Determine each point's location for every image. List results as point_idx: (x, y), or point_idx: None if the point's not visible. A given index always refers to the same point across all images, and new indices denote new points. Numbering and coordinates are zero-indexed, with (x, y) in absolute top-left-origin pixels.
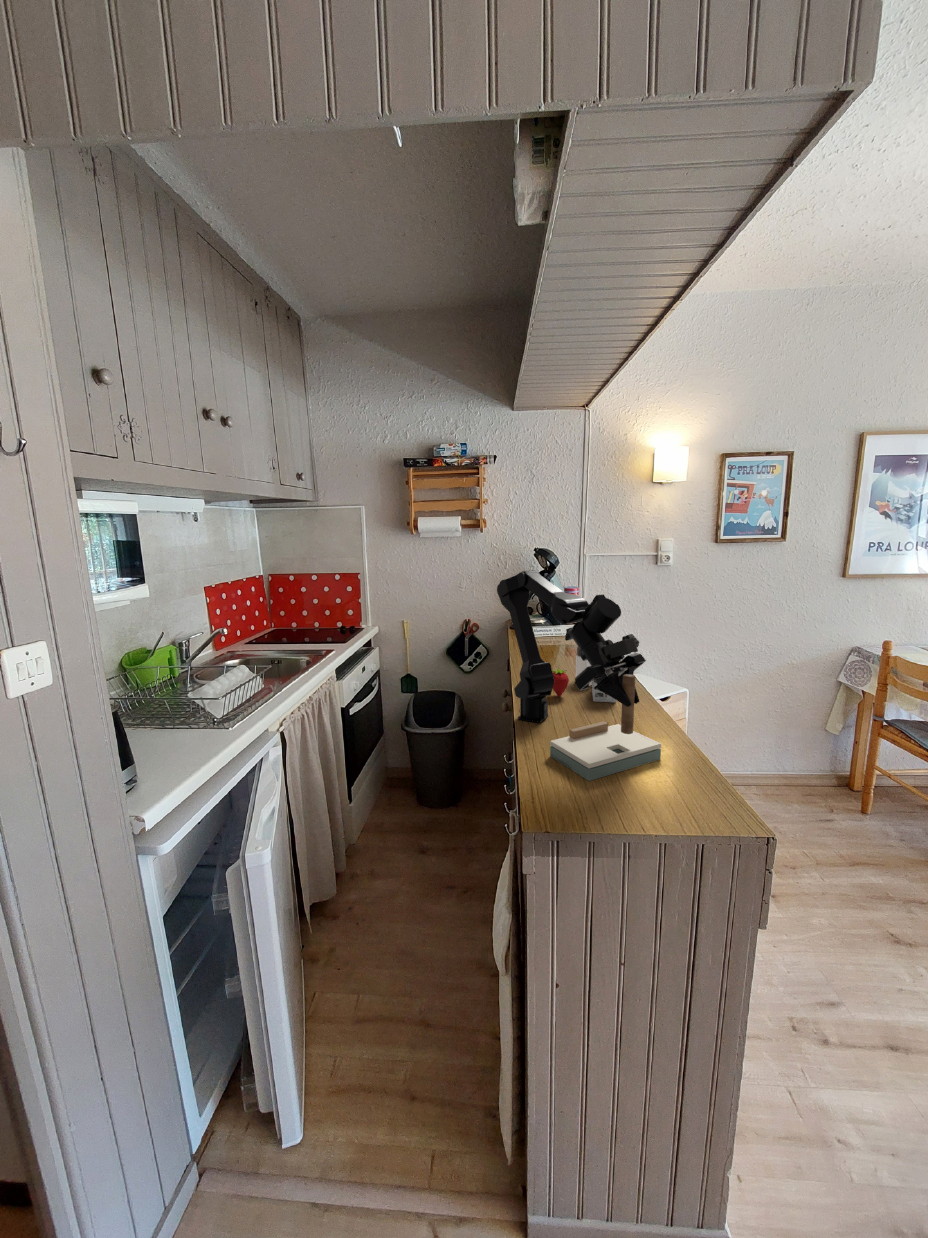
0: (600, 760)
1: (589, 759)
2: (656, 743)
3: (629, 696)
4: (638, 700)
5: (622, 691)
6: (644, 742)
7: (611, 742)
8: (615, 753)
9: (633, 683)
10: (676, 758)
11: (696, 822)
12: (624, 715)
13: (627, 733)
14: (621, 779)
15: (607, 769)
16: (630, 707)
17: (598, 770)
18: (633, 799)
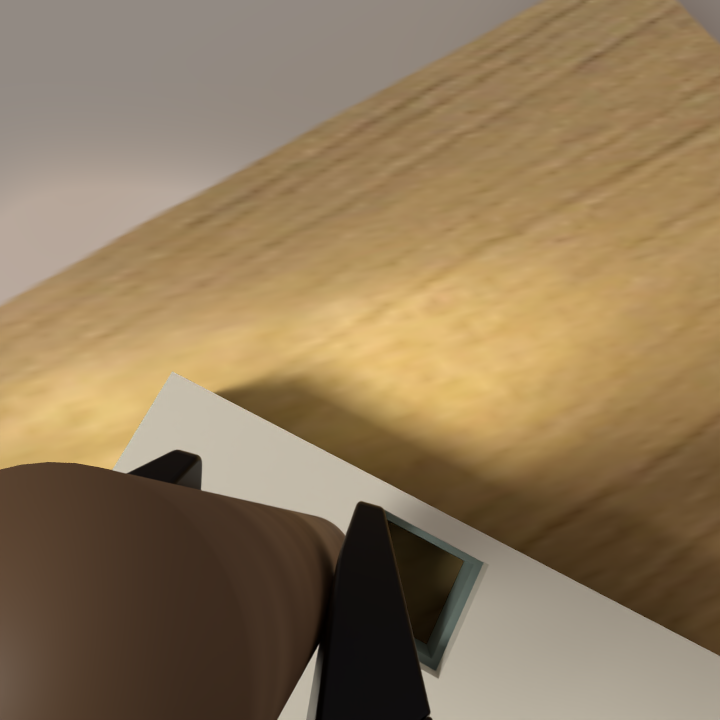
0: (666, 631)
1: (703, 710)
2: (185, 396)
3: (314, 552)
4: (192, 456)
5: (392, 689)
6: (206, 467)
7: None
8: (494, 579)
9: (200, 495)
10: (147, 329)
11: (709, 125)
12: None
13: None
14: (558, 499)
15: None
16: (316, 532)
17: None
18: (715, 380)
